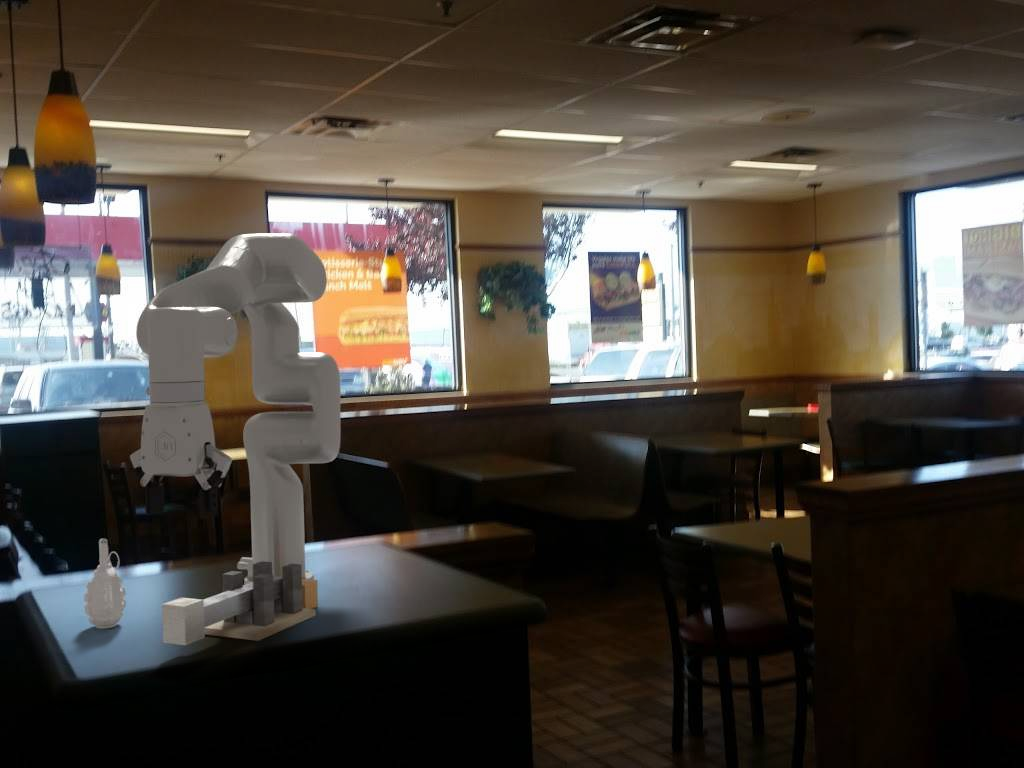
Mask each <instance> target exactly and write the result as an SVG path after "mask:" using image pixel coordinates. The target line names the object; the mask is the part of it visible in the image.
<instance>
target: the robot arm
mask: <svg viewBox="0 0 1024 768" xmlns="http://www.w3.org/2000/svg"><path fill="white" fill-rule="evenodd" d="M327 280H328V279H327V271H326V268H325V266H324V263H323V261H322V259H321V258H320V257H319V255H318V254H317V253H316V252H315V251H314V250H313V249H312V248H311V246H310V245H308V243H307V242H306V241H305V240H303V239H302V238H300V237H299V236H297V235H295V234H293V233H288V232H286V233H285V232H282V233H281V232H280V233H246V234H245V233H244V234H239V235H236V236H233V237H231V238H229V239H228V240H227V241H226V242H225V243H224V244H223V246H222V247H221V249H220V250H219V251H218V252H217V254H216V255H215V256H214V257H213V259H212V260H211V262H210V263H209V264H208V266H207V267H206V269H205V270H202V271H199V272H198V273H194V274H192V275H190V276H188V277H185V278H184V279H181V280H179V281H176V282H174V283H172V284H170V285H167V286H165V288H162V289H161V290H160V291H158V292H156V294H155V295H154V296H153V297H152V298H151V299H150V300H149V302H148V303H147V304H146V305H145V307H144V309H143V310H142V312H141V314H140V315H139V317H138V321H137V325H136V332H135V333H136V335H135V336H136V342H137V344H138V346H139V348H140V349H141V351H142V352H143V353H144V354H146V355H147V356H148V381H149V385H148V386H147V387H146V389H145V393H146V395H147V396H149V404H146V405H145V409H144V410H143V411H144V412H143V418H142V424H141V436H140V438H141V439H140V448H139V449H138V450H136V451H134V452H133V453H131V454H130V455H129V459H130V461H131V464H132V466H133V468H134V473H135V474H136V476H137V477H138V479H139V480H140V485H141V486H142V487H143V488H144V502H145V503H144V504H145V505H144V508H145V514H146V515H154V514H159V513H162V512H164V511H165V508H166V507H165V486H164V483H161V481H162V480H163V478H164V477H184V478H185V477H192V476H194V477H195V479H196V480H197V482H198V483H199V485H200V486H201V488H202V489H199V491H198V507H199V517H200V518H201V519H207V518H211V517H215V516H218V515H219V495H218V494H219V491H218V489H219V488H221V487H222V483H223V481H224V480H225V479H226V478H227V477H228V472H229V470H230V467H231V464H232V461H233V459H232V457H231V456H229V455H228V454H227V453H225V452H224V451H222V450H220V449H219V448H218V447H216V440H215V430H214V424H213V418H212V413H211V410H210V409H211V408H210V405H209V403H207V402H206V380H205V379H206V378H205V376H206V374H205V372H206V371H205V358H207V359H208V358H219V357H223V356H225V355H228V354H229V353H230V352H231V351H233V349H234V347H235V346H236V344H237V342H238V341H237V340H238V336H239V330H238V329H239V328H238V324H237V321H236V320H235V318H234V316H233V314H235V313H236V314H237V313H238V312H240V311H244V313H245V314H246V316H247V319H248V321H249V324H250V328H251V329H250V330H251V378H252V380H251V381H252V393H253V395H254V398H255V399H257V401H258V402H261V403H262V404H263V403H264V404H268V405H269V404H270V405H311V407H312V410H313V411H267V412H260V413H257V414H254V415H253V416H251V417H249V419H247V421H246V423H245V425H244V427H243V432H242V433H243V434H242V437H243V438H242V439H243V446H244V451H245V455H246V461H247V466H248V474H249V487H250V488H249V490H250V523H251V524H250V525H251V529H250V530H251V557H248V556H247V557H245V556H242V557H241V558H240V559H239V562H237V564H236V567H237V569H238V570H247V575H246V576H245V577H244V578H243V585H246V584H248V583H251V582H253V564H255V563H258V562H261V561H265V562H272V575H273V576H282V567H283V566H286V565H289V564H300V565H301V570H302V579H309V580H315V574H314V572H313V571H310V570H307V569H306V555H305V554H306V551H305V549H306V548H305V545H306V544H305V540H306V539H305V512H304V511H305V510H304V509H305V508H304V507H305V506H304V504H305V503H304V488H303V483H302V482H301V479H300V478H299V476H298V475H297V473H296V471H294V469H293V468H292V467H291V465H294V464H326V463H330V462H333V461H334V460H335V459H336V458H338V457H337V456H338V455H339V452H340V448H341V431H342V429H341V376H340V370H339V365H338V364H337V361H336V360H335V358H334V357H333V356H332V355H330V354H328V353H325V352H321V351H319V352H318V351H317V352H316V351H314V352H313V351H310V352H309V351H307V352H305V351H304V352H301V350H300V329H299V324H298V322H297V320H296V318H295V317H294V316H293V314H292V313H291V312H290V310H289V309H288V308H287V307H286V306H285V305H284V304H285V303H286V304H287V303H290V304H291V303H294V304H295V303H314V302H317V301H319V300H320V299H321V298H323V296H324V294H325V292H326V289H327V283H328V281H327ZM215 468H216V469H215Z"/></svg>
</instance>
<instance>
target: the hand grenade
mask: <svg viewBox="0 0 1024 768" xmlns="http://www.w3.org/2000/svg"><path fill="white" fill-rule="evenodd" d="M98 550H99V551H98V552H99V559H98V561H99V564H98V565H97V567H96V569H95V570H94V571H93V577H92V578H90V580H89V581H88V582H87V584H86V589H87V591H86V592H85V593H84V597H83V601H84V602H86V605H85V606H84V613H85V615H87V616H89V617H88V619H87V621H88V622H89V624H91V625H93V626H95V628H96V629H99V630H101V629H103V630H104V629H111V628H114V627H116V626H117V625H118V622H120V621H121V619H122V618H123V616H124V613H123V612H124V609H125V608H126V606H127V600H126V599H124V598H125V596H126V594H127V593H126V588H125V587H124V586H123V585H122V584H123V583H124V582H123V580H122V577H121V576H119V574H118V573H117V571H116V570H118V569H119V567H120V563H121V562H120V557H119V555H118V553H117V552H116V551H111V552H110V553H109V545H108V539H107V538H100V539H99V540H98ZM112 554H115V555H116V557H117V560H118V561H117V564H116V567H114V565H112V561H111V555H112Z"/></svg>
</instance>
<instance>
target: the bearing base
mask: <svg viewBox="0 0 1024 768" xmlns="http://www.w3.org/2000/svg"><path fill="white" fill-rule="evenodd" d="M282 578H283V597H281V598H278V599H276V600H274V588H273V575H272V562H265V561H261V562H258V563H255V564H253V599H254V608H253V609H250V610H248V611H245V612H243V613H240V614H238V615H235V616H233V617H230V618H228V619H225V620H222V621H220V622H217V623H215V624H212V625H210V626H207V627H205V628H204V632H205V635H207V636H218V637H223V638H224V637H225V638H233V639H240V640H241V639H242V640H248V641H249V640H250V641H257V642H258V641H261V640H263V639H265V638H268V637H270V636H272V635H275V634H277V633H279V632H282V631H283V630H285V629H289V628H291V627H293V626H295V625H297V624H299V623H301V622H304V621H306V620H308V619H311V618H313V617H315V616H316V615H317V612H316V610H317V609H314V608H313V609H308V608H303V606H302V570H301V565H300V564H289V565H286V566H283V567H282ZM243 585H244V573H243V571H235V570H234V571H233V570H231V571H228V572H225V573H222V593H223V592H226V591H229V590H232V589H234V588H237V587H240V586H243Z"/></svg>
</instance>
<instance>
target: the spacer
mask: <svg viewBox="0 0 1024 768" xmlns="http://www.w3.org/2000/svg"><path fill="white" fill-rule="evenodd" d="M318 591H319V590H318V580H317V579H314V580H309V579H302V606H303V608H308V609H312V608H313V609H314V607H315V608H317V607H318V606H319V597H318V596H319V595H318V593H319V592H318ZM316 606H317V607H316Z"/></svg>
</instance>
